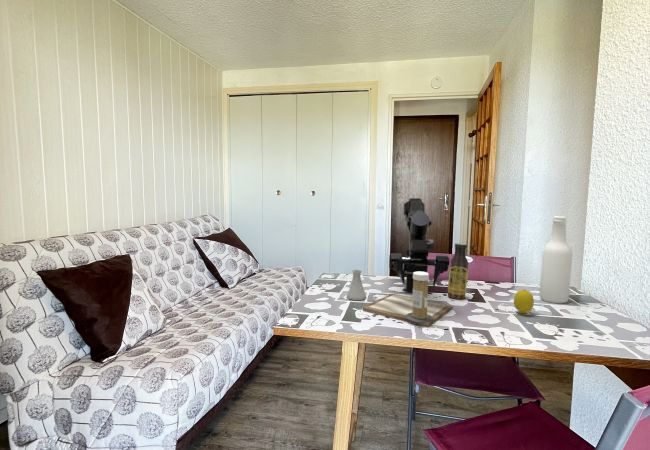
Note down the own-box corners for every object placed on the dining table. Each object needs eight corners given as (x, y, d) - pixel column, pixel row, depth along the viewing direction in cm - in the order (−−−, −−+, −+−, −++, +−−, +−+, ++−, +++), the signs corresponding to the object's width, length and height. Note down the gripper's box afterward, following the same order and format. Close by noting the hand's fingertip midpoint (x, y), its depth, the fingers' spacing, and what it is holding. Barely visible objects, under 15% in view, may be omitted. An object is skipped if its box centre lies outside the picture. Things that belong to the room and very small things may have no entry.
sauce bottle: (446, 298, 128) (449, 244, 126) (447, 293, 134) (450, 241, 132) (466, 300, 126) (469, 245, 124) (466, 296, 132) (469, 242, 130)
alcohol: (568, 299, 129) (575, 216, 125) (567, 305, 121) (574, 218, 118) (540, 294, 134) (546, 215, 131) (538, 300, 127) (544, 216, 124)
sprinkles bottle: (430, 318, 105) (432, 273, 104) (417, 320, 103) (419, 275, 102) (421, 313, 109) (422, 270, 108) (408, 315, 108) (409, 271, 106)
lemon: (530, 311, 115) (532, 287, 114) (534, 317, 110) (536, 292, 109) (511, 309, 117) (513, 286, 116) (514, 315, 112) (516, 290, 111)
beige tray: (391, 296, 131) (392, 292, 131) (452, 309, 117) (452, 305, 117) (361, 311, 114) (361, 307, 114) (426, 328, 101) (427, 324, 101)
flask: (366, 295, 132) (366, 268, 131) (366, 301, 125) (367, 273, 124) (346, 294, 132) (347, 268, 131) (345, 300, 125) (346, 272, 124)
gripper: (390, 229, 116) (388, 270, 107) (450, 230, 113) (454, 273, 103) (390, 248, 125) (388, 288, 115) (445, 250, 121) (448, 291, 112)
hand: (418, 285), depth 111 cm, fingers open, 9 cm apart
